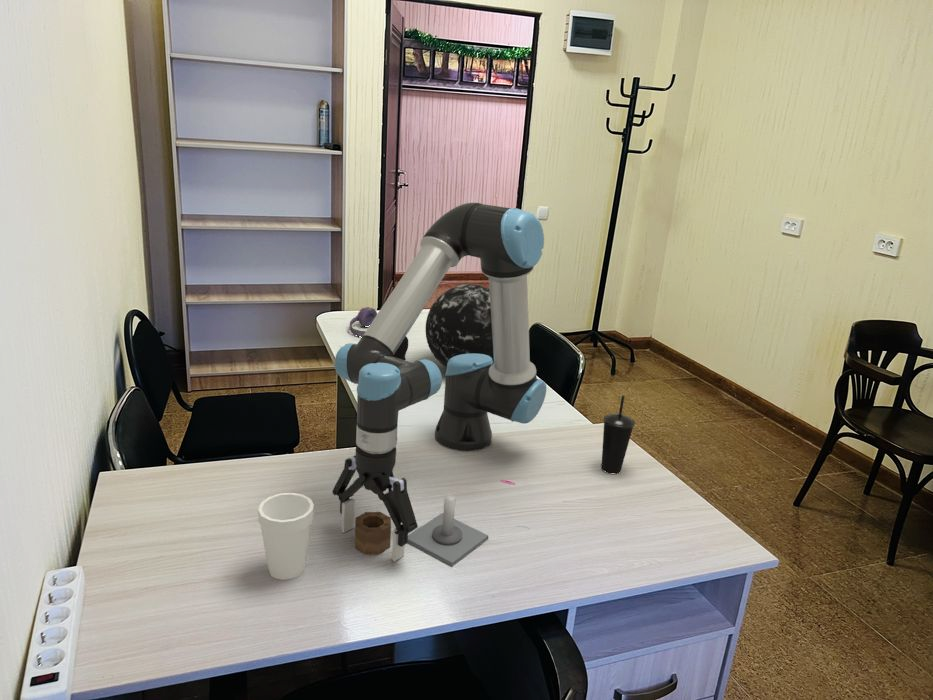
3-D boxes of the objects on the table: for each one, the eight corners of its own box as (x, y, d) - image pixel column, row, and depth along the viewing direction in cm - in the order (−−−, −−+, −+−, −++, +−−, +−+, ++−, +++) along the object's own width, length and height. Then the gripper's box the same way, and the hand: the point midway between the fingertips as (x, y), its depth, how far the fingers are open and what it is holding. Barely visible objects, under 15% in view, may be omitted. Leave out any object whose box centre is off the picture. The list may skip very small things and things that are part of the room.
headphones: (359, 320, 271) (343, 342, 253) (359, 302, 267) (342, 322, 250) (403, 326, 269) (389, 348, 251) (403, 307, 265) (389, 328, 247)
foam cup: (266, 552, 125) (264, 492, 121) (316, 553, 126) (316, 493, 122) (255, 585, 116) (253, 521, 112) (309, 586, 117) (309, 522, 113)
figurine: (395, 354, 237) (397, 314, 232) (412, 359, 234) (414, 318, 229) (379, 361, 229) (381, 320, 224) (396, 366, 226) (398, 324, 221)
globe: (466, 351, 246) (473, 272, 237) (527, 376, 227) (536, 290, 217) (405, 366, 226) (409, 280, 217) (465, 394, 207) (473, 301, 197)
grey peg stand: (404, 540, 132) (406, 498, 129) (442, 516, 142) (445, 476, 138) (452, 566, 126) (455, 522, 123) (488, 538, 135) (492, 497, 132)
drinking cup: (626, 479, 163) (639, 404, 157) (595, 474, 165) (607, 399, 158) (626, 465, 170) (638, 392, 164) (596, 460, 172) (607, 388, 165)
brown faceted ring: (347, 544, 130) (348, 522, 128) (372, 529, 135) (372, 508, 133) (372, 558, 126) (373, 536, 124) (396, 543, 131) (398, 521, 130)
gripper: (315, 430, 128) (314, 525, 134) (413, 476, 114) (407, 580, 121) (344, 419, 133) (341, 511, 140) (441, 461, 120) (433, 561, 126)
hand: (371, 543), depth 130 cm, fingers open, 13 cm apart
